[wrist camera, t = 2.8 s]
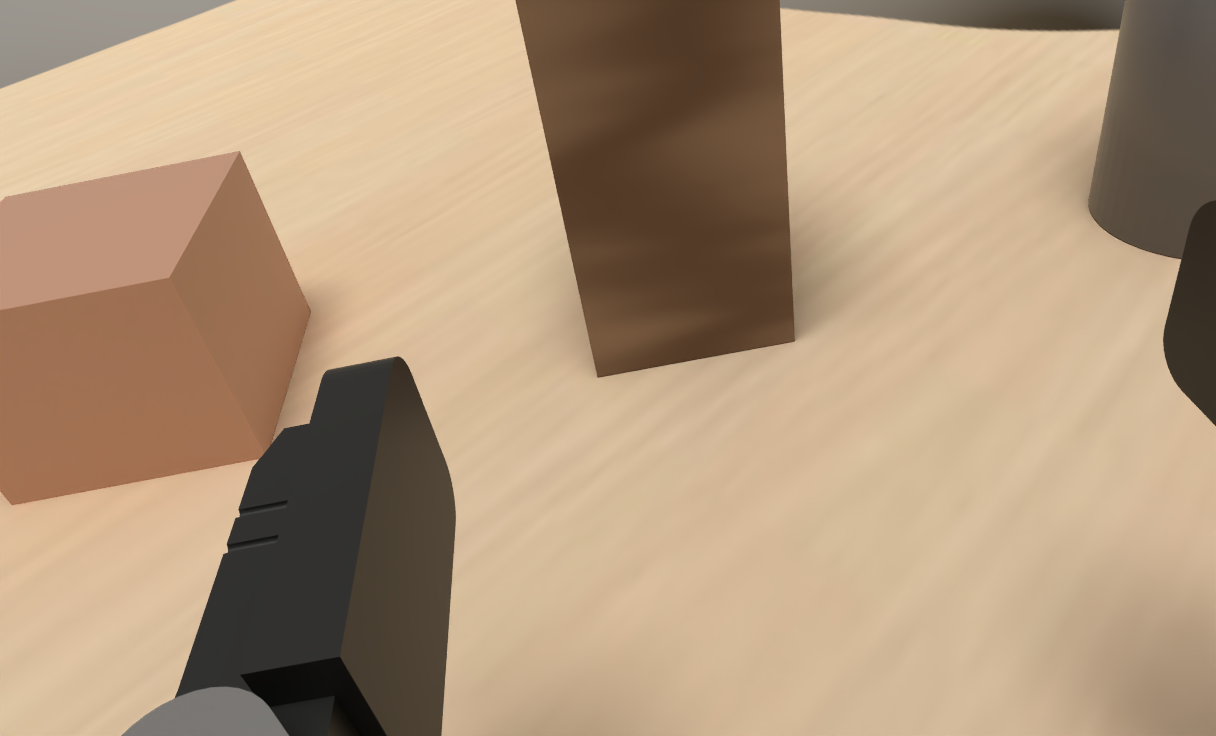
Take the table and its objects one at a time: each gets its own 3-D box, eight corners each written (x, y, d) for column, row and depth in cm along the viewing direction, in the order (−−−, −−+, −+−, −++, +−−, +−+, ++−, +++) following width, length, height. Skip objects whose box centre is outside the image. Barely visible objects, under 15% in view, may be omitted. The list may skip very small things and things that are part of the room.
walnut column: (597, 377, 21) (479, -164, 14) (584, 273, 25) (485, -196, 18) (794, 341, 21) (770, -222, 14) (751, 242, 24) (715, -242, 18)
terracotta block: (14, 508, 21) (-128, 334, 18) (105, 354, 26) (5, 196, 22) (269, 461, 21) (169, 277, 18) (312, 315, 25) (239, 151, 22)
